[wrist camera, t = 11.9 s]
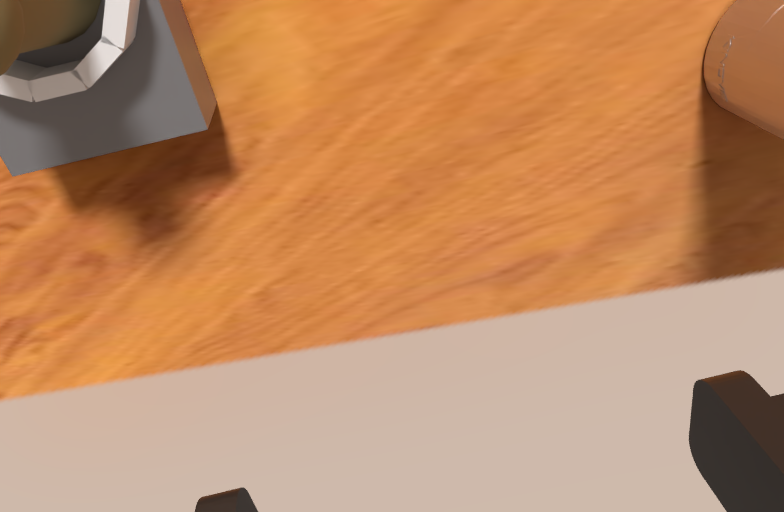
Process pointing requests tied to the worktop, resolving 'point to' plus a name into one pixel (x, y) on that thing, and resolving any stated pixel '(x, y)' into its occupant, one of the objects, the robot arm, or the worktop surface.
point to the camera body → (105, 88)
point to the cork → (41, 25)
